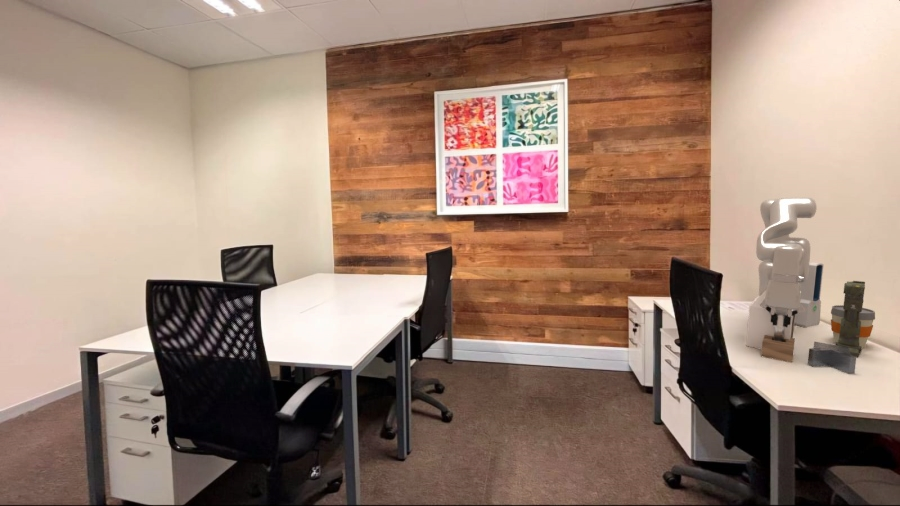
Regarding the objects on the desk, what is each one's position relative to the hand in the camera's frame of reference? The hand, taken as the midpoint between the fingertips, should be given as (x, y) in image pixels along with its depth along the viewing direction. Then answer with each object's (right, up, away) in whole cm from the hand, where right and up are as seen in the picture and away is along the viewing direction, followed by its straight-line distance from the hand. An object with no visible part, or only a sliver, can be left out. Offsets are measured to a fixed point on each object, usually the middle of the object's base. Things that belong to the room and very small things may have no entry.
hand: (780, 324), depth 148 cm
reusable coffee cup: (+37, -10, +10) cm, 40 cm away
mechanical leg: (+28, -11, +2) cm, 31 cm away
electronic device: (+43, -7, +37) cm, 57 cm away
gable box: (+7, -11, +14) cm, 19 cm away
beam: (0, -12, +1) cm, 12 cm away
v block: (+11, -13, -9) cm, 19 cm away
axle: (0, -7, +1) cm, 7 cm away
